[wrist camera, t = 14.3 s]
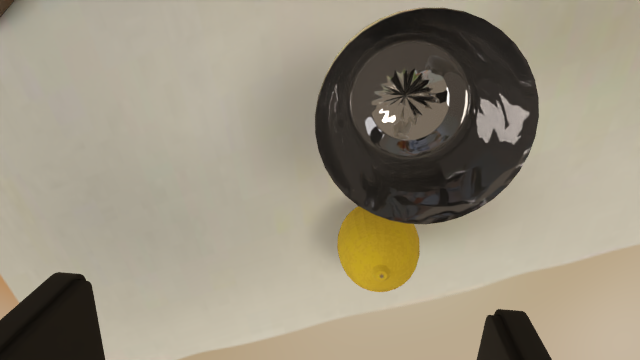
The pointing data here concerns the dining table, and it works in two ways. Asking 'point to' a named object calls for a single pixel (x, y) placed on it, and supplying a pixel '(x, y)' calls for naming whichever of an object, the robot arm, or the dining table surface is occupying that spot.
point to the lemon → (377, 250)
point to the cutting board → (4, 5)
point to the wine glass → (426, 115)
